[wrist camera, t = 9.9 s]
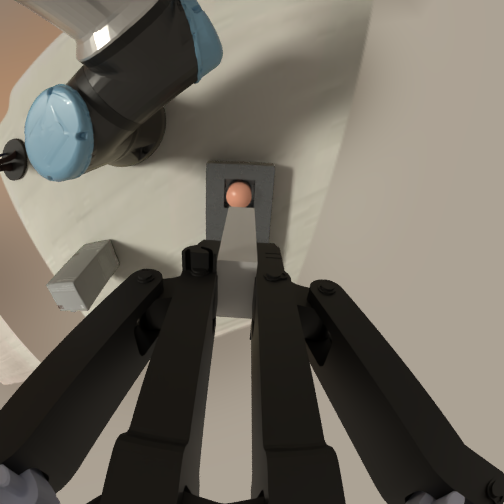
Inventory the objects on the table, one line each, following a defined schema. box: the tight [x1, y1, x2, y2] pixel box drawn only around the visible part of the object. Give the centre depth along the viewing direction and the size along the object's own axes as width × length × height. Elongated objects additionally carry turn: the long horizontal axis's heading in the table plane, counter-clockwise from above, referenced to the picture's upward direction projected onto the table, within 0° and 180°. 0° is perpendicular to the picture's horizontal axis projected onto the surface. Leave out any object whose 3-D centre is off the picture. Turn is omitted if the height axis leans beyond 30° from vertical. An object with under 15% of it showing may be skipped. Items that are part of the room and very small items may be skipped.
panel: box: [206, 161, 275, 243], centre depth 50 cm, size 11×28×4 cm, turn 177°
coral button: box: [226, 180, 251, 207], centre depth 44 cm, size 4×4×4 cm
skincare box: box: [46, 239, 120, 312], centre depth 46 cm, size 8×7×16 cm
